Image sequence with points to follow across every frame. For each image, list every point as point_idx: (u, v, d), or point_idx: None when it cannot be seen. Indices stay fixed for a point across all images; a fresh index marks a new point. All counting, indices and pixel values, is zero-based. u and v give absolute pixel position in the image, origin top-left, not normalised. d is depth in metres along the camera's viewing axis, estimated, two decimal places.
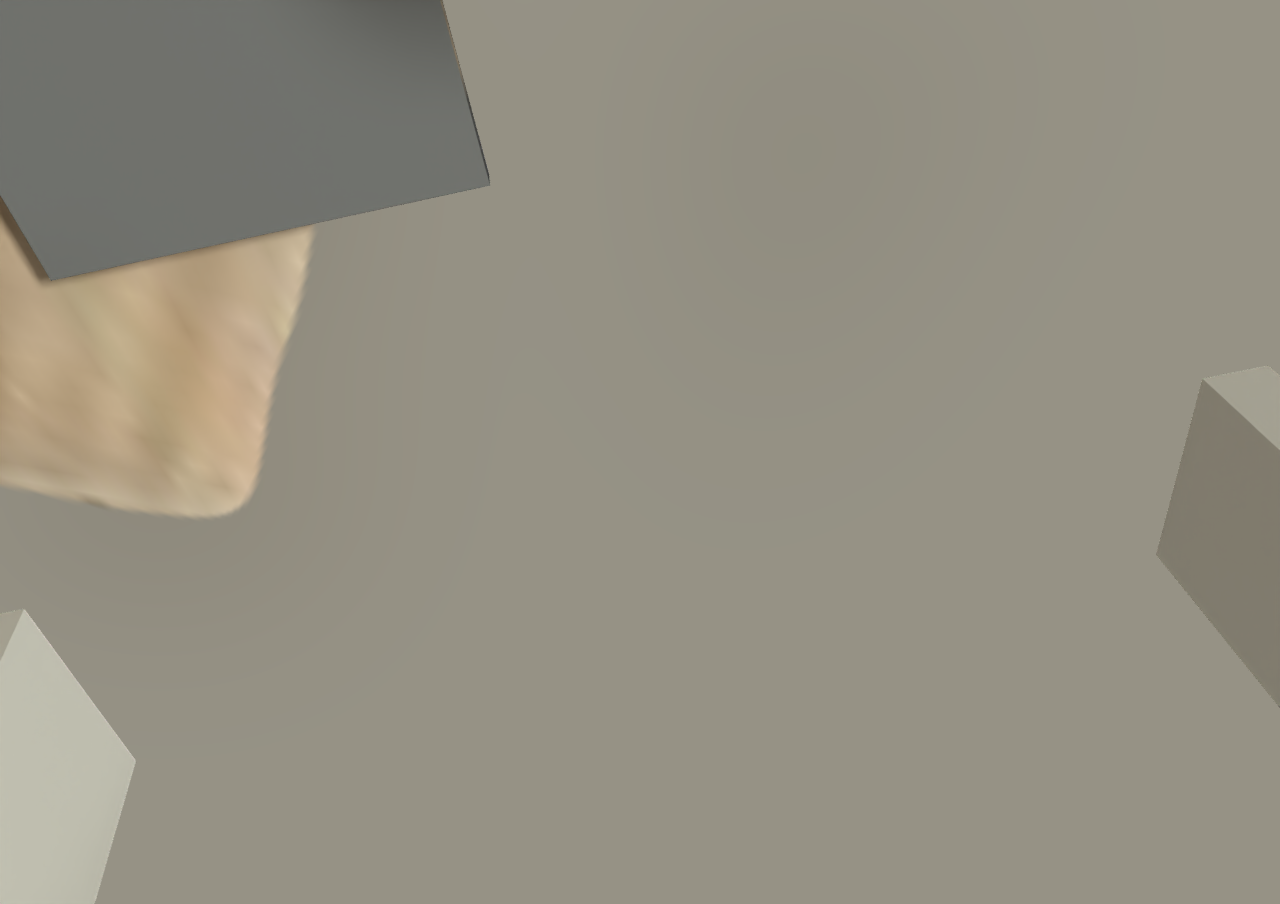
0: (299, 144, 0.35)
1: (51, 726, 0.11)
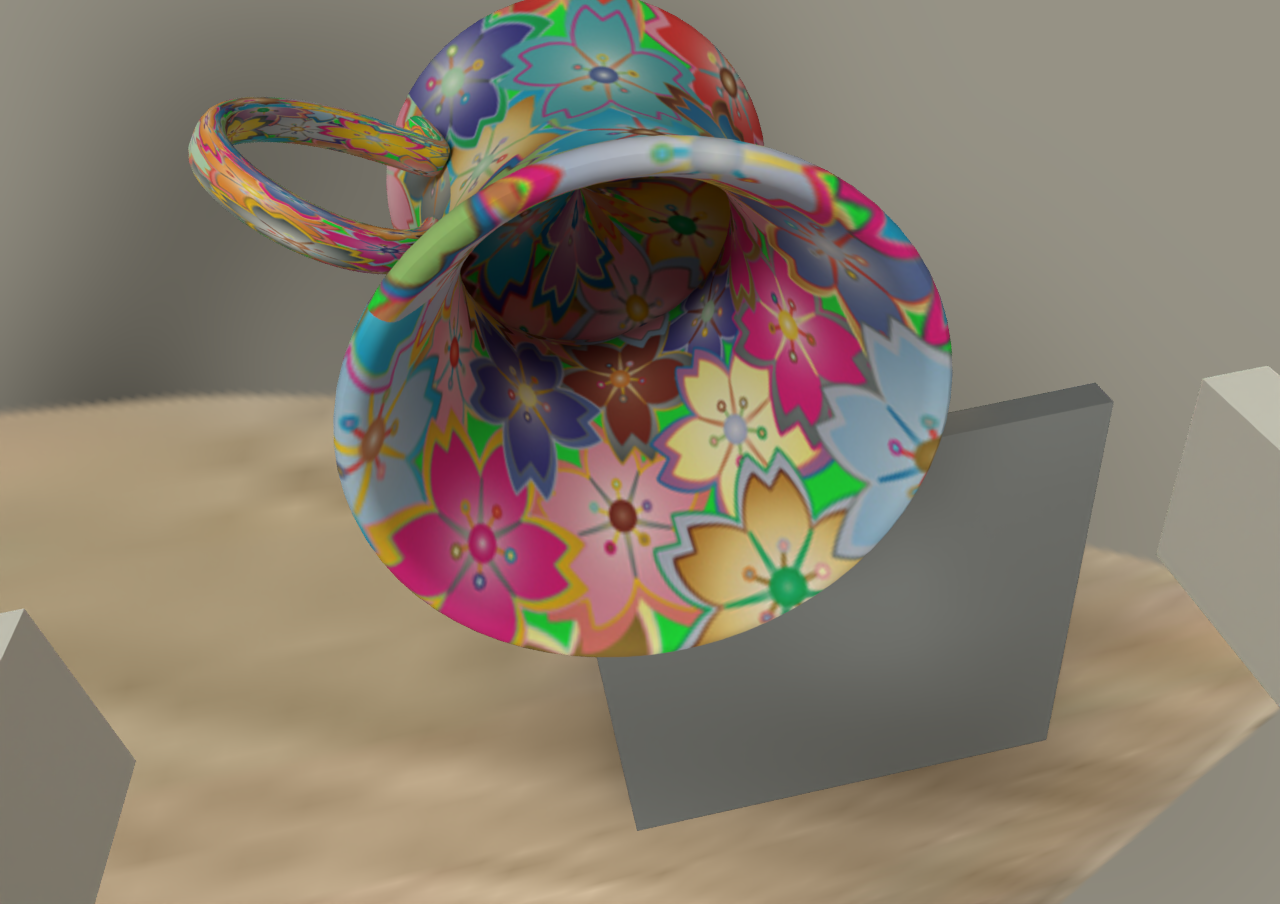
0: (999, 568, 0.32)
1: (51, 726, 0.11)
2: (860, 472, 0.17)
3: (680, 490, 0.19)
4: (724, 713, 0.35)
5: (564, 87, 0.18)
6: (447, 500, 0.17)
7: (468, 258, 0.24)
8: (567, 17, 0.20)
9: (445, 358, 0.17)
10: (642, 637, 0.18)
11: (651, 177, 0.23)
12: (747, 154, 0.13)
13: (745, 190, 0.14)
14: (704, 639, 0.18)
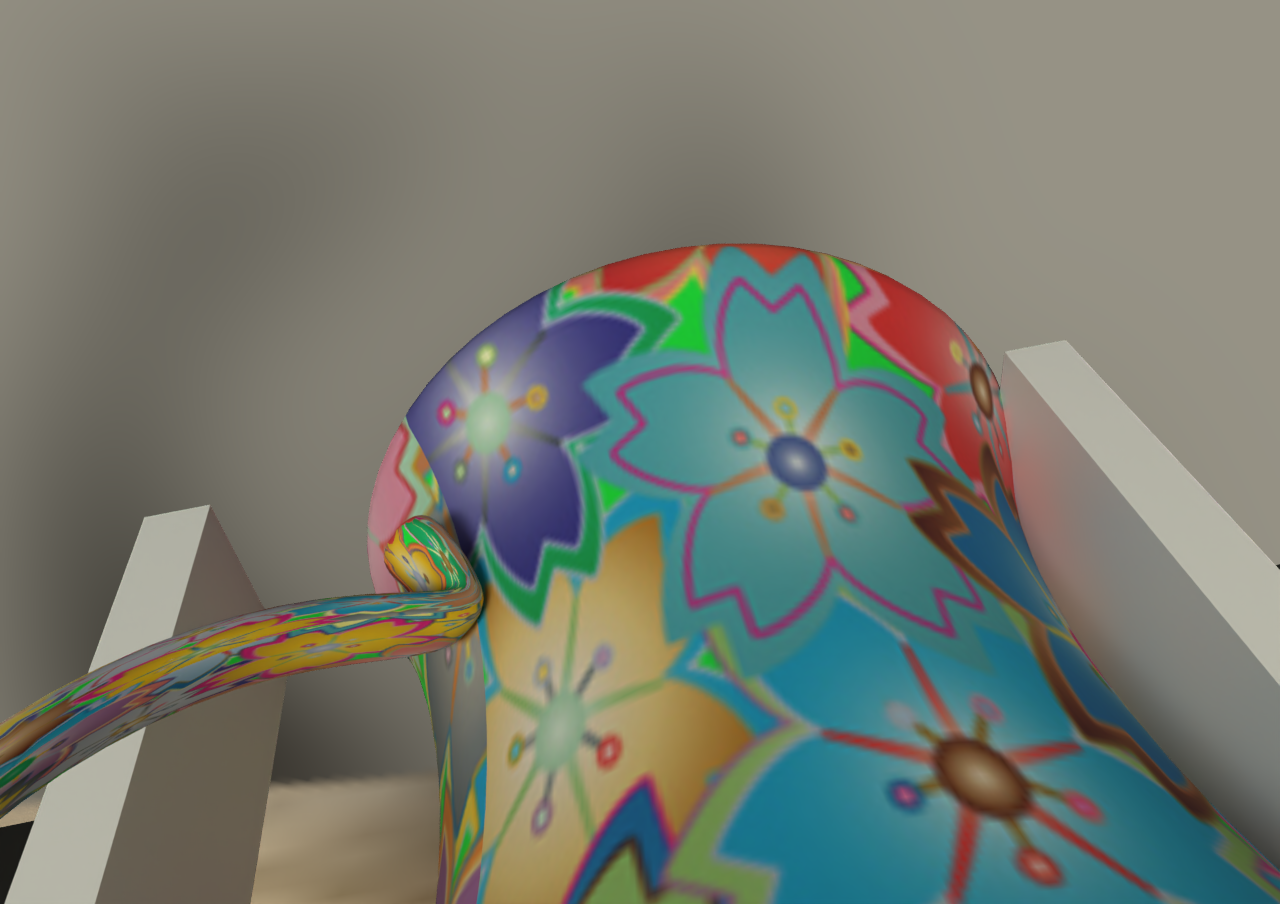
0: None
1: (233, 612, 0.12)
2: None
3: None
4: None
5: (722, 502, 0.09)
6: None
7: None
8: (706, 306, 0.10)
9: None
10: None
11: None
12: None
13: None
14: None
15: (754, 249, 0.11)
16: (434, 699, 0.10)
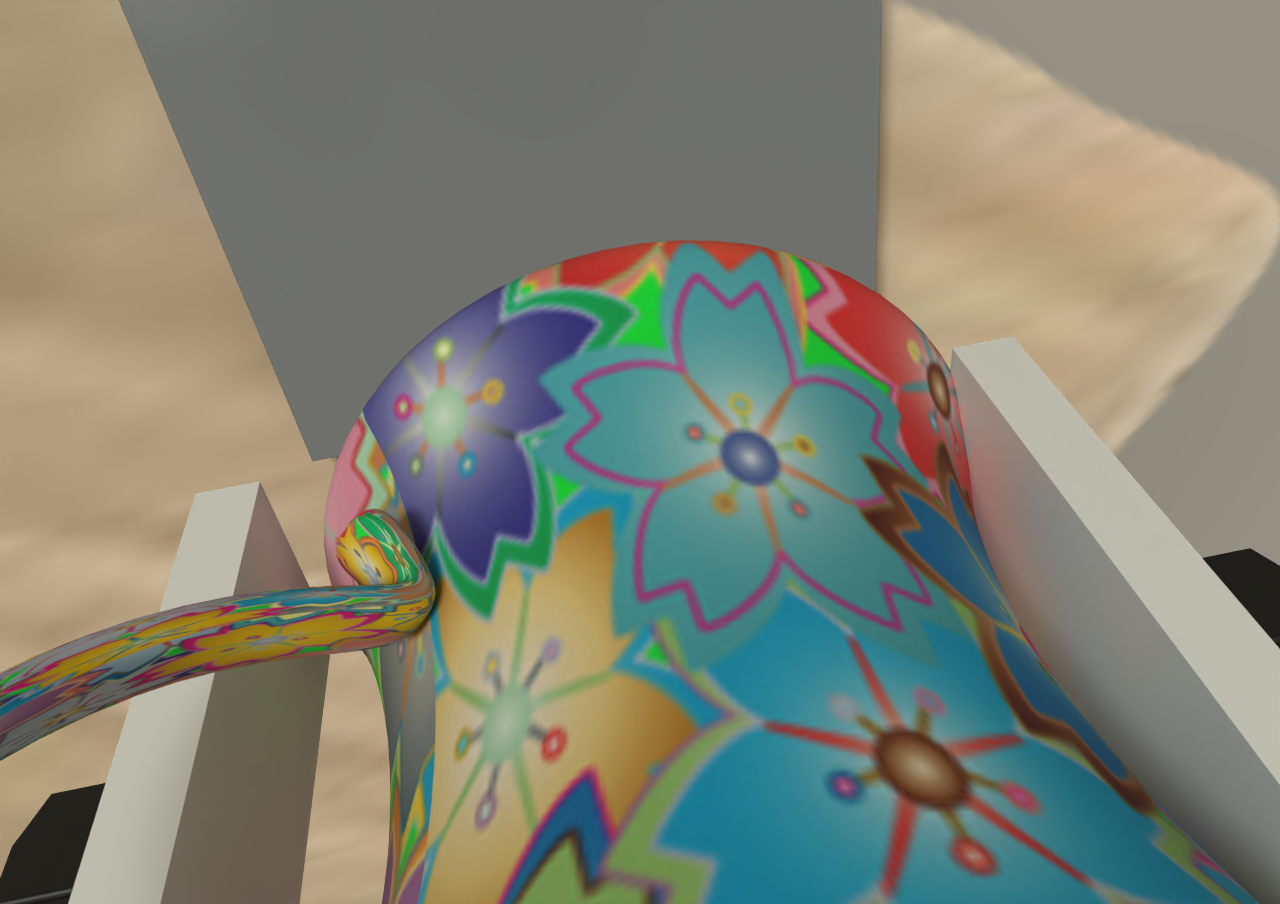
0: None
1: (283, 587, 0.12)
2: None
3: None
4: (391, 247, 0.25)
5: (674, 496, 0.09)
6: None
7: None
8: (664, 301, 0.10)
9: None
10: None
11: None
12: None
13: None
14: None
15: (713, 246, 0.11)
16: (387, 694, 0.10)
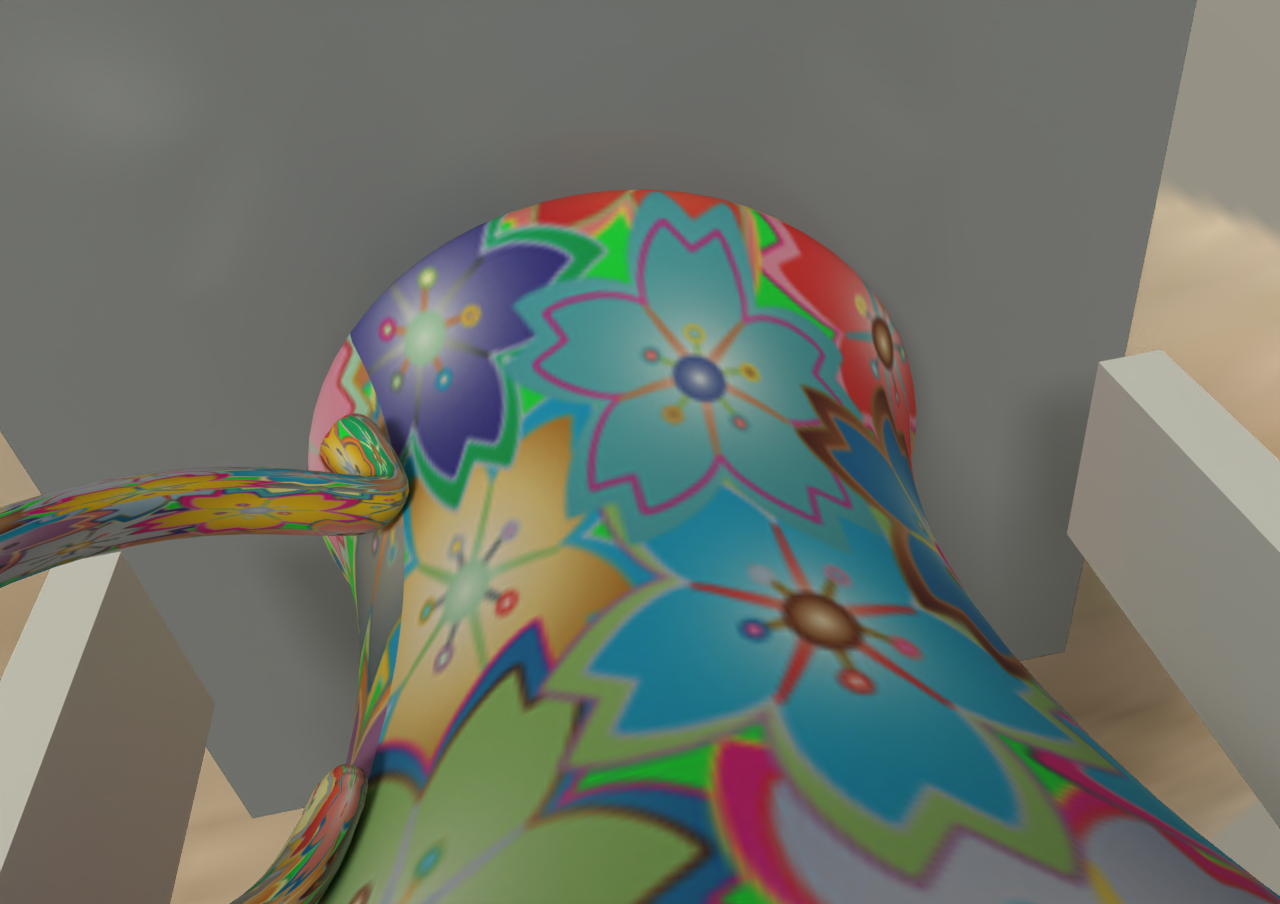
0: (960, 199, 0.14)
1: (146, 663, 0.11)
2: None
3: None
4: None
5: (628, 407, 0.10)
6: None
7: None
8: (631, 242, 0.11)
9: None
10: None
11: None
12: None
13: None
14: None
15: (679, 195, 0.12)
16: (360, 589, 0.11)
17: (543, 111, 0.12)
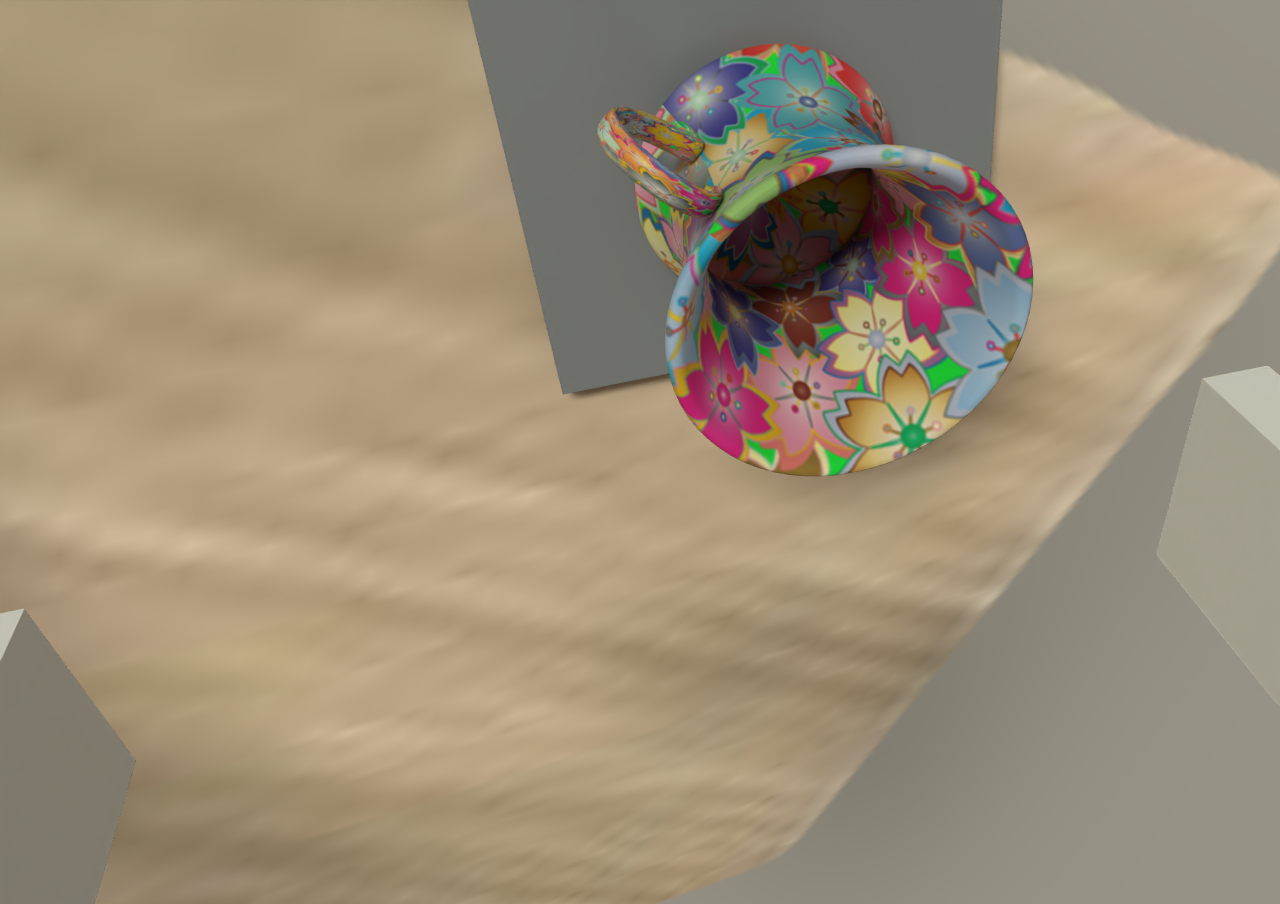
0: (911, 52, 0.32)
1: (51, 725, 0.11)
2: (965, 363, 0.27)
3: (838, 377, 0.29)
4: (640, 234, 0.34)
5: (784, 108, 0.28)
6: (706, 364, 0.27)
7: None
8: (778, 61, 0.30)
9: (705, 277, 0.27)
10: (817, 463, 0.28)
11: None
12: (933, 158, 0.23)
13: (920, 179, 0.24)
14: (856, 467, 0.28)
15: (795, 45, 0.30)
16: None
17: (741, 14, 0.30)
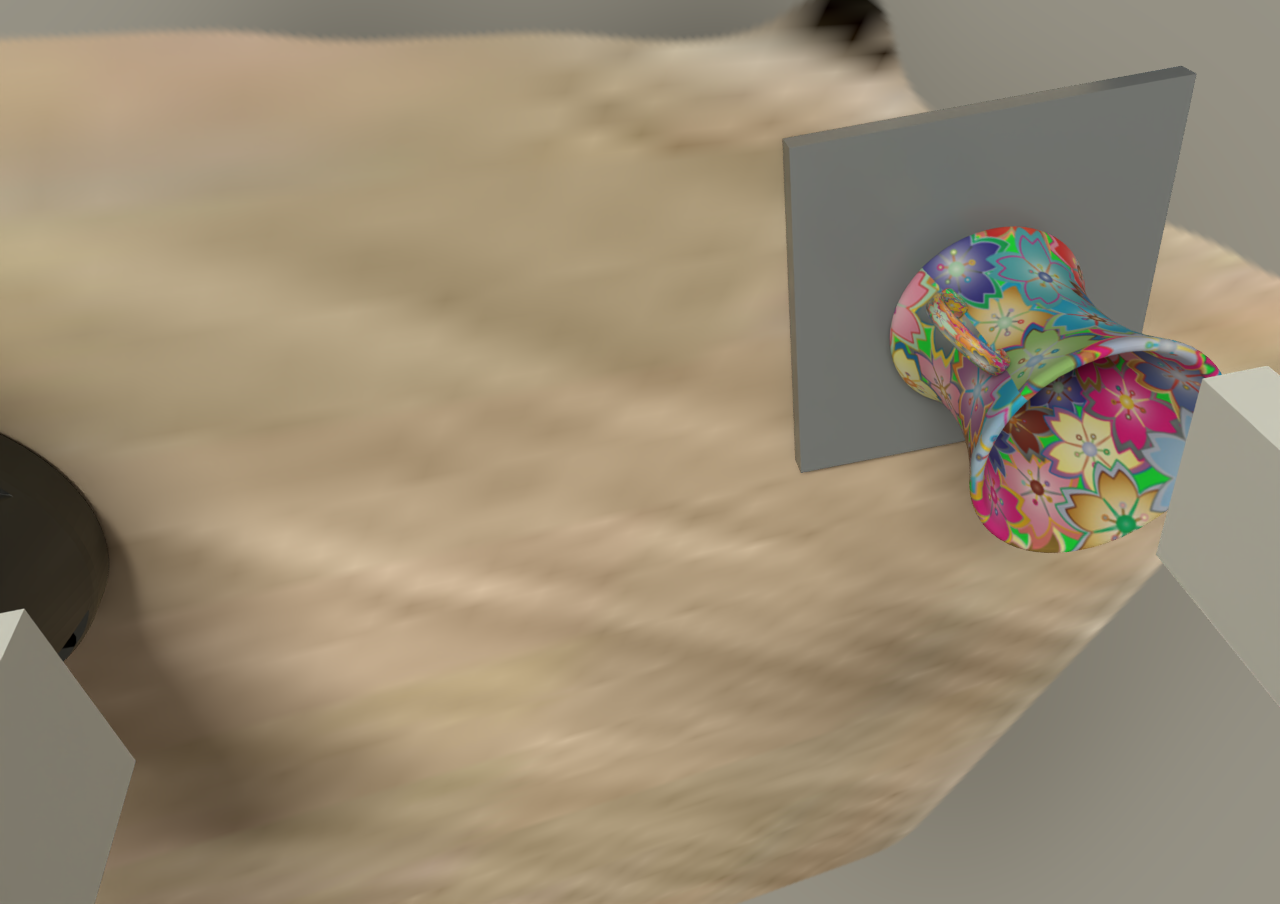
0: (1101, 228, 0.42)
1: (51, 726, 0.11)
2: (1167, 472, 0.38)
3: (1062, 477, 0.40)
4: (881, 355, 0.45)
5: (1030, 283, 0.39)
6: (985, 474, 0.37)
7: None
8: (1015, 241, 0.40)
9: None
10: (1057, 543, 0.38)
11: None
12: (1177, 346, 0.33)
13: (1156, 353, 0.35)
14: (1084, 546, 0.38)
15: (1025, 228, 0.41)
16: (941, 339, 0.40)
17: (983, 203, 0.41)
